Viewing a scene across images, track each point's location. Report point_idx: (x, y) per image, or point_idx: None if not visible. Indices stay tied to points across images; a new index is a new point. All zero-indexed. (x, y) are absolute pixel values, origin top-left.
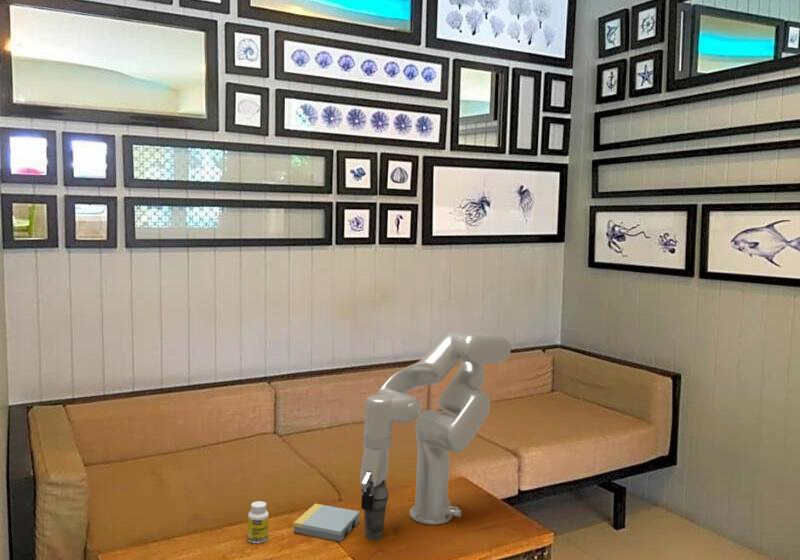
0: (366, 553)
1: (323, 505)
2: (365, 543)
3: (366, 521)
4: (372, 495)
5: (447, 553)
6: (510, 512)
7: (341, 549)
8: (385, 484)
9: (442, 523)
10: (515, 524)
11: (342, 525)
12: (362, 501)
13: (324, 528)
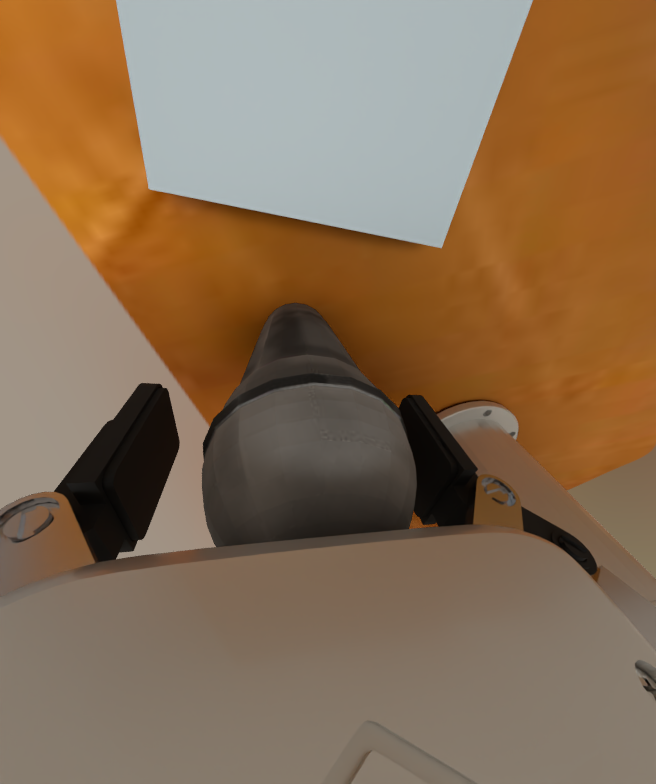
0: (148, 341)
1: None
2: (226, 318)
3: (259, 340)
4: (123, 546)
5: None
6: None
7: (108, 221)
8: (424, 521)
9: None
10: None
11: (239, 179)
12: (117, 426)
13: (116, 2)
